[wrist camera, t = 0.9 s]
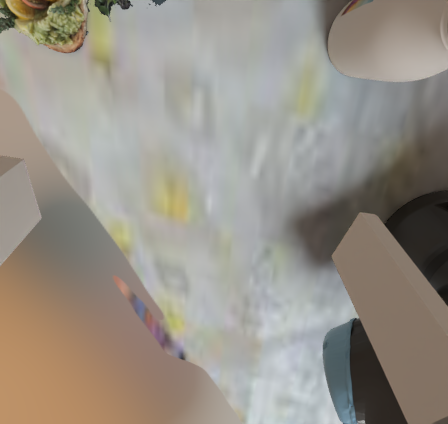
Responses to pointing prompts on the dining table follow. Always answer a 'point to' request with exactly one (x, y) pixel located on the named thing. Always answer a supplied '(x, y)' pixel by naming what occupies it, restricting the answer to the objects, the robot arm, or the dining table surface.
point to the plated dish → (54, 20)
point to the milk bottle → (390, 39)
